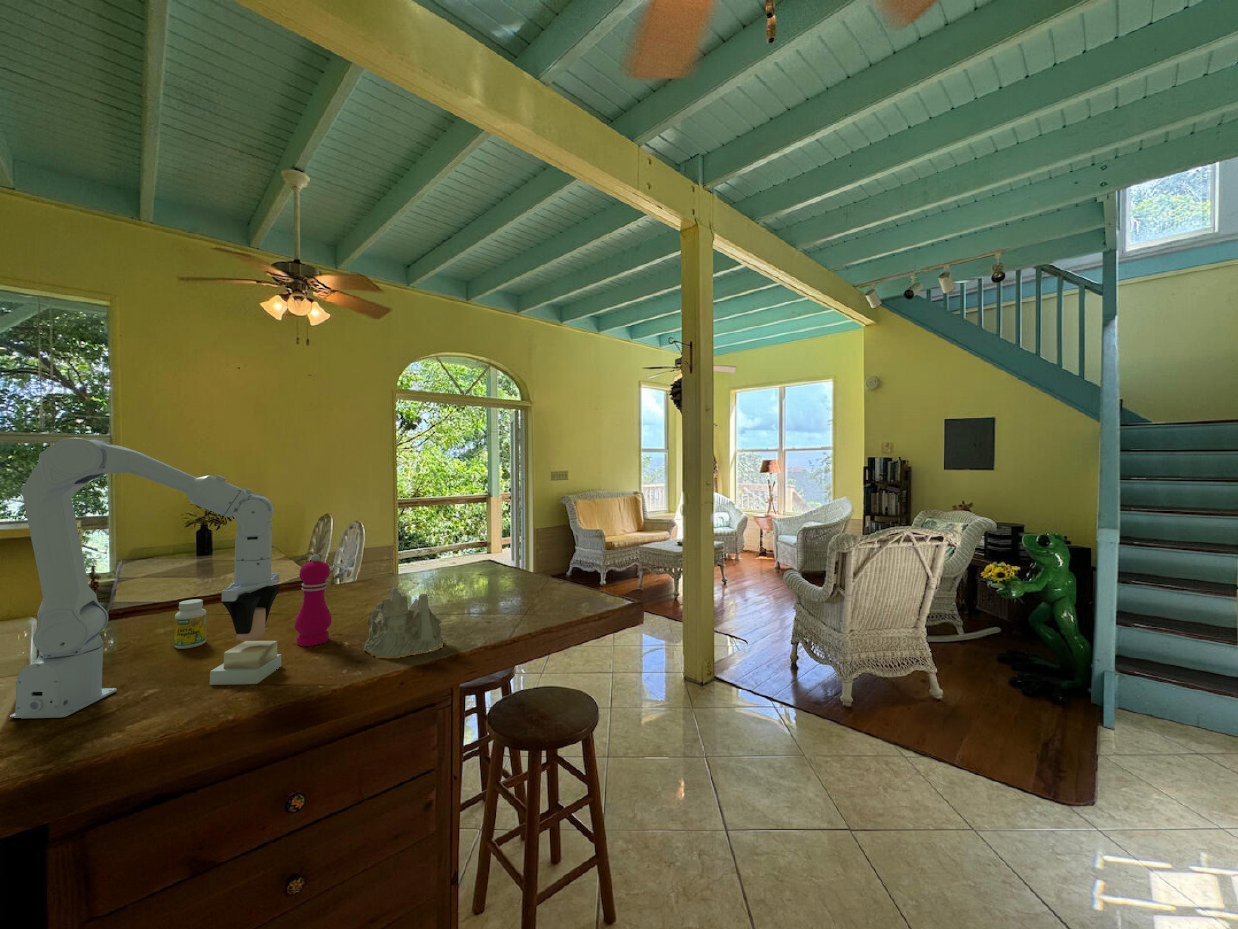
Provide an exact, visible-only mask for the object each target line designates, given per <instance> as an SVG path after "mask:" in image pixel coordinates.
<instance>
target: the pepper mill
mask: <svg viewBox="0 0 1238 929" xmlns="http://www.w3.org/2000/svg"><path fill="white" fill-rule="evenodd" d="M320 559H321V557H320V555H319V554H313V555H311V556H310V561H308V562H306V563H304V564H303V565H302V566H301V567H300V569H299V573H298V574H299V578H300V580H301V581H302V582H303V583H301V590H302V591H303V602H302V605H301V607H300V609H299V611H298V613H297V616H296V617H295V621H294V629H295V630H296V632H298V633H299V634H298V635H297V636H296V645H297V646H298V645H299V647H305V646H308V647H314V646H313V645H316V646H318V645H317V644H320V645H323V644H325V643H327V642H328V641H329V640H330V639H329V636H330V632H329V631H328V629H329V627H330V626H331V625H332V614H331V611H330V609H329V608H328V606H327V604H326V600H325V592H326V591H325V590H326V589H327V588H328V586H327V584H328V581H326V580H328V578H329V577H330V574H331V569H330V566H329V565H328V563H326V562H325V561H322V560H320ZM328 639H329V640H328ZM326 641H327V642H326ZM322 643H323V644H322Z"/></svg>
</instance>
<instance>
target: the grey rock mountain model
mask: <svg viewBox="0 0 1238 929" xmlns="http://www.w3.org/2000/svg"><path fill="white" fill-rule="evenodd" d="M441 623H442V620H440V619H439V618H438V617H437V616H436V614H434V613H433V612H432V610H431V608H430V607H429V597H428V593H419V596H418V598H416V599H414V601H413V602H412V604H411V605H410V606H409V601H408V596H407V594H406V595H402V593H401V591H398V587H395V586H394V587H392V588H391V591H390V596H389V597H388V598H383V600H382V602H378V603H376V607H375V609H370V612H369V616H368V618H367V622H366V624H367V625H368V627H369V629H368V639H366V641H365V642H364V647H363V651H364V650H366V651H369V652H370V653H372V654H375V655H379V656H400V655H405V654H409V653H411V652H414V651H419V650H429V649H431V648H434V647H436V646H438V645H439V644H441V643H442V642H444V639H443V638H444V637H443V636H442V635H441V633H442V629H441V626H440V624H441Z"/></svg>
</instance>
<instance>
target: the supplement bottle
mask: <svg viewBox="0 0 1238 929" xmlns="http://www.w3.org/2000/svg"><path fill="white" fill-rule="evenodd" d="M203 602H204V600H203V599H197V598H196V599H195V598H194V599H188V600H187V599H186V600H182V601H179V602H178V609H179V611H177V612H176V613H175V615H174V627H173V628H174V631H173V632H174V634H173V635H174V636H173V647H174V648H175V649H178V650H180V649H181V650H182V649H183V650H184V649H192V648H196V647H200V646H202V645H203V644H206V641H207V610H206V609H204V608H202V607H203V605H204V603H203Z"/></svg>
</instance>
